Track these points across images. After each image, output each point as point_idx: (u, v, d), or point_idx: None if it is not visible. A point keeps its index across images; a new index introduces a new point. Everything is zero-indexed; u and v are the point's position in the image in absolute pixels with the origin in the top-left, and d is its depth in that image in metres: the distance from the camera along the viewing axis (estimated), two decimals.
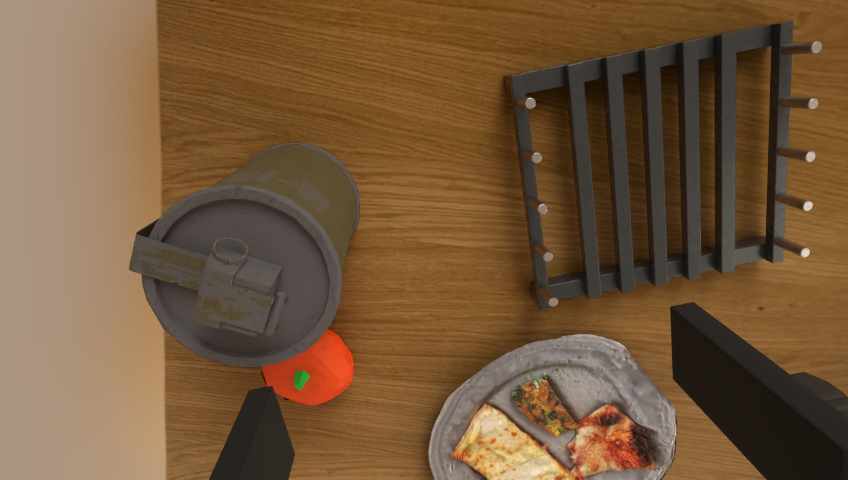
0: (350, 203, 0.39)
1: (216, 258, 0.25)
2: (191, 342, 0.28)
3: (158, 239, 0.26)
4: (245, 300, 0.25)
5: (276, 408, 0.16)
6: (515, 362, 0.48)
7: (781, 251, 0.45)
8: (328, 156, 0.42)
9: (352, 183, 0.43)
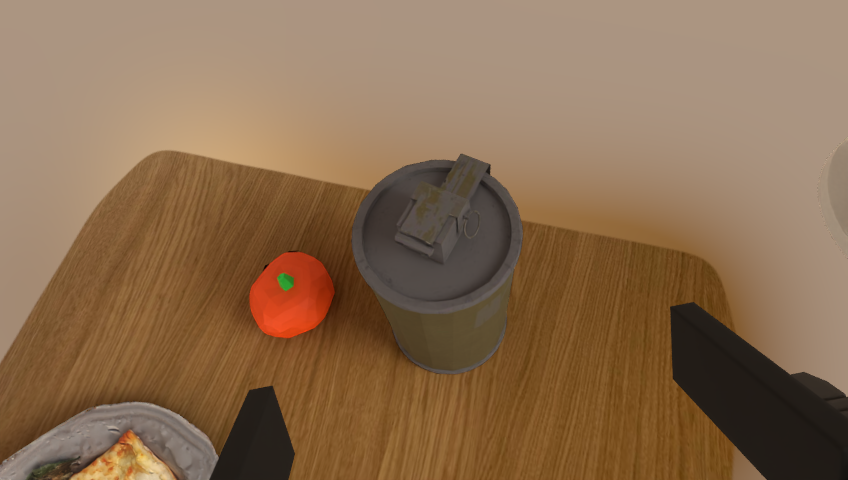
0: (454, 358, 0.40)
1: (467, 211, 0.30)
2: (388, 182, 0.33)
3: (482, 177, 0.32)
4: (433, 222, 0.28)
5: (276, 408, 0.16)
6: None
7: None
8: (491, 351, 0.44)
9: (463, 369, 0.44)
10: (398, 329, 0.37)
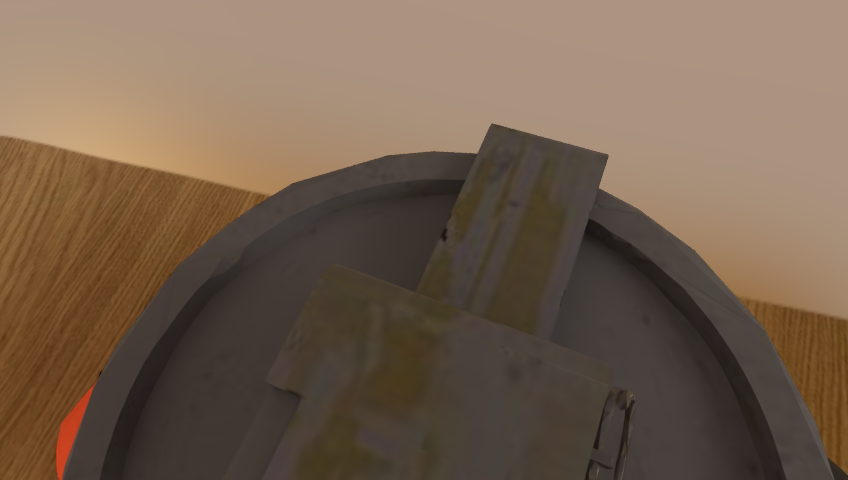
0: None
1: None
2: (227, 252, 0.09)
3: None
4: None
5: None
6: None
7: None
8: None
9: None
10: None
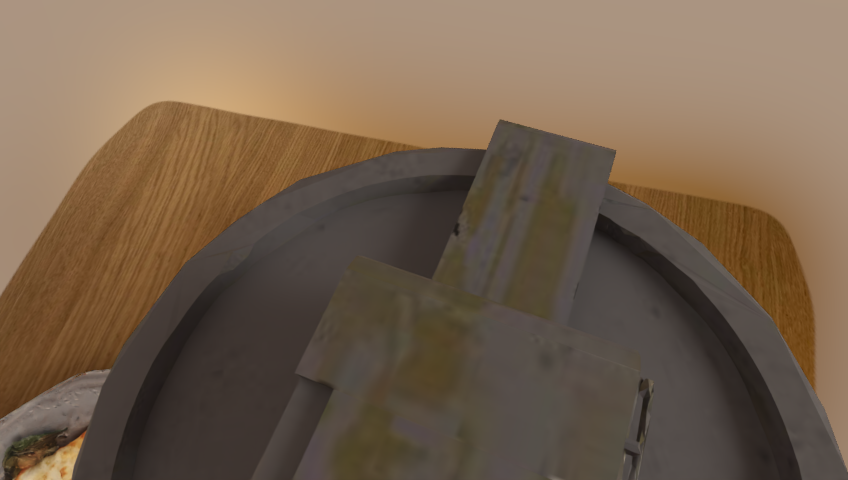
0: None
1: None
2: (236, 248, 0.08)
3: None
4: None
5: None
6: None
7: None
8: None
9: None
10: None
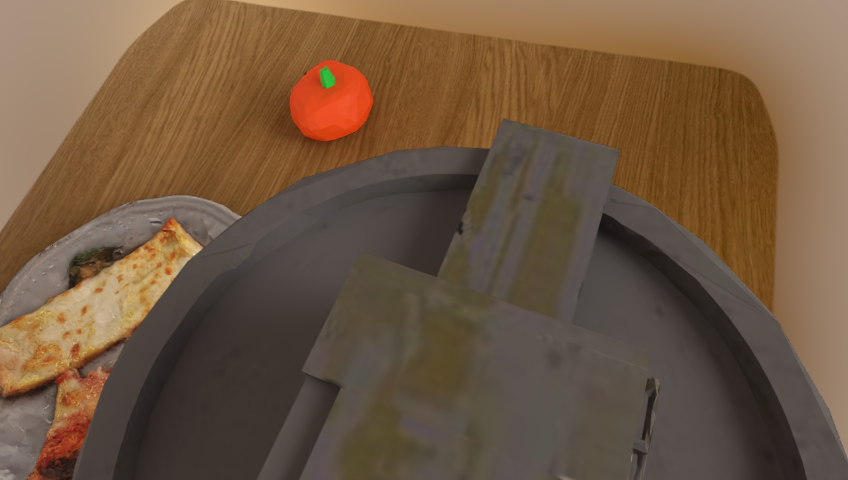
0: None
1: None
2: (238, 247, 0.08)
3: None
4: None
5: None
6: None
7: None
8: None
9: None
10: None
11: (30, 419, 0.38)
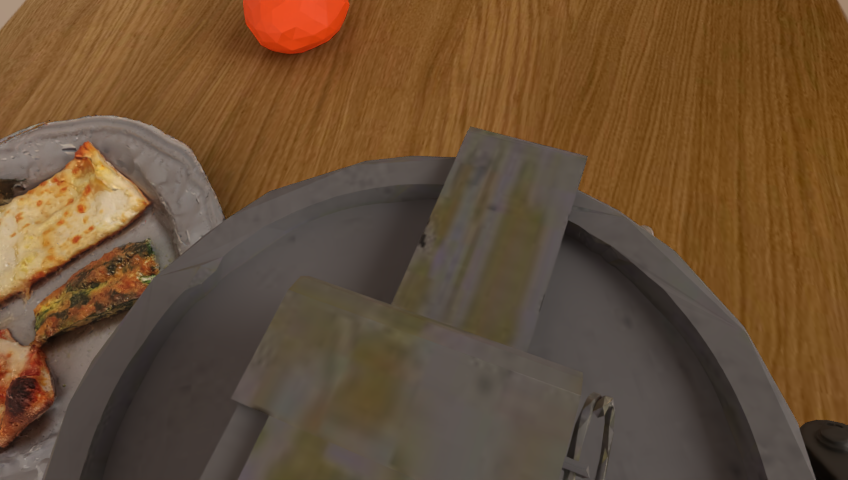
0: None
1: None
2: (204, 262, 0.08)
3: None
4: None
5: None
6: None
7: None
8: None
9: None
10: None
11: None
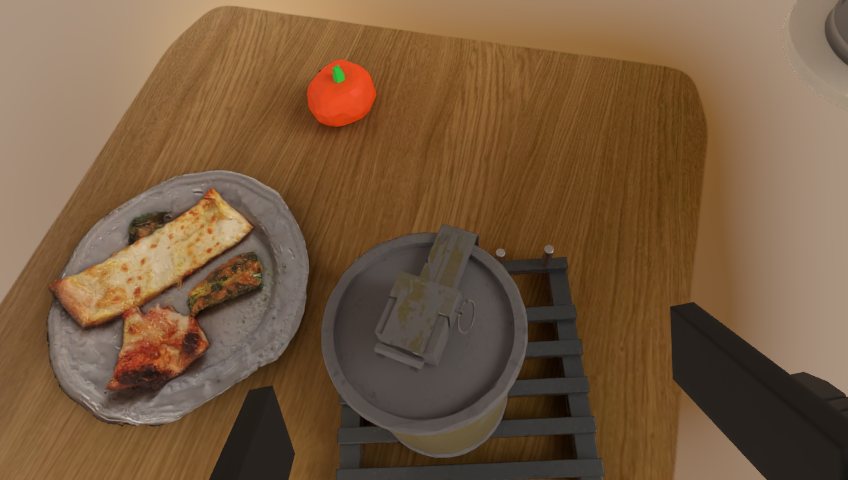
0: (455, 447, 0.34)
1: (459, 301, 0.25)
2: (359, 267, 0.27)
3: (471, 251, 0.27)
4: (419, 325, 0.23)
5: (276, 408, 0.16)
6: (290, 253, 0.49)
7: None
8: (495, 424, 0.39)
9: (465, 450, 0.38)
10: None
11: (103, 346, 0.47)
